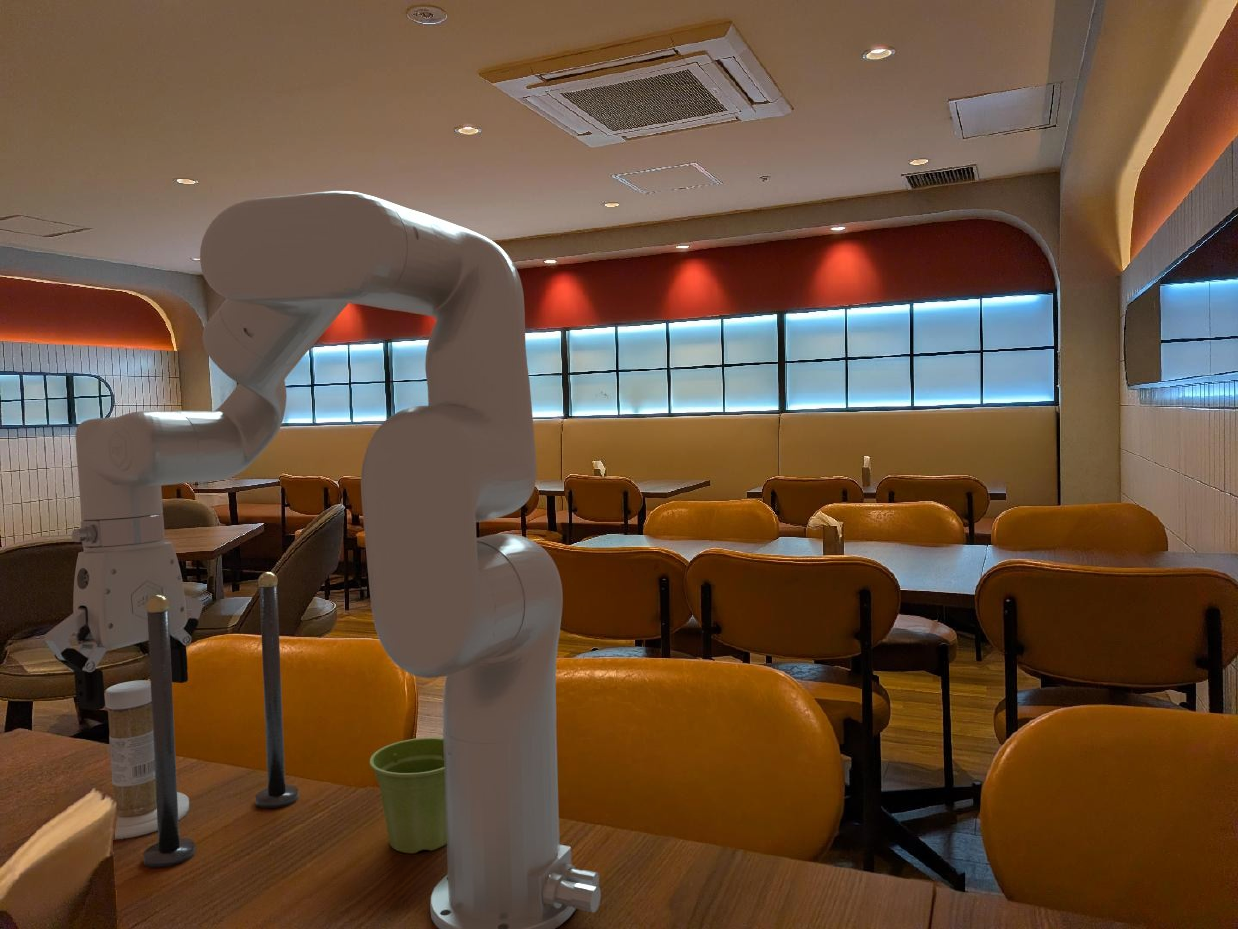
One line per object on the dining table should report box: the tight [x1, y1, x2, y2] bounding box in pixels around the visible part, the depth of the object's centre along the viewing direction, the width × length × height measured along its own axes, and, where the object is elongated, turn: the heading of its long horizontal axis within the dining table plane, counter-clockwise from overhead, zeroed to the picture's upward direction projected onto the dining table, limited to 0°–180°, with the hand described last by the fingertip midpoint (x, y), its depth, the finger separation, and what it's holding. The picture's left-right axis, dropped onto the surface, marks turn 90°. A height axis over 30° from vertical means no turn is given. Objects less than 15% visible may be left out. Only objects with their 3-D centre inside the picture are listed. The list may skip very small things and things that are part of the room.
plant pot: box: [369, 737, 447, 854], centre depth 86 cm, size 9×9×9 cm
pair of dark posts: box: [142, 571, 299, 869], centre depth 89 cm, size 4×18×26 cm, turn 156°
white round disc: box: [114, 791, 190, 840], centre depth 92 cm, size 10×10×1 cm
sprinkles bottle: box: [104, 679, 157, 816], centre depth 92 cm, size 5×5×14 cm
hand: (135, 694), depth 92 cm, fingers open, 9 cm apart
